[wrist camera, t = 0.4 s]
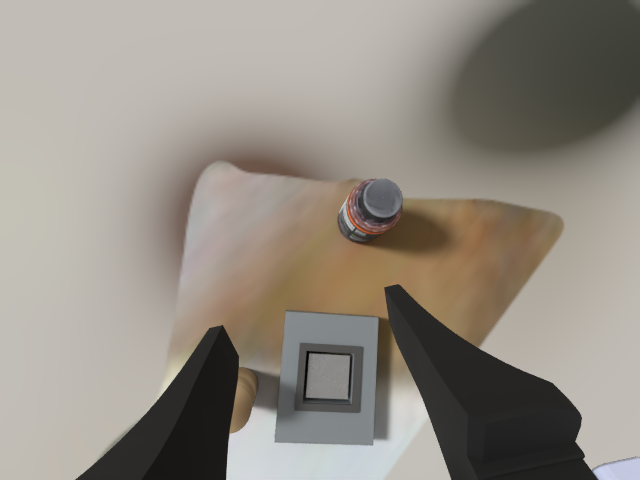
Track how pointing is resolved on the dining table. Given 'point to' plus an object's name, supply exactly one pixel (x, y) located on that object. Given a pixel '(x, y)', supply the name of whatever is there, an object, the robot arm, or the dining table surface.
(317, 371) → the pad
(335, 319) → the board
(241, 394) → the peg
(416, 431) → the dining table surface
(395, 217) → the supplement bottle
